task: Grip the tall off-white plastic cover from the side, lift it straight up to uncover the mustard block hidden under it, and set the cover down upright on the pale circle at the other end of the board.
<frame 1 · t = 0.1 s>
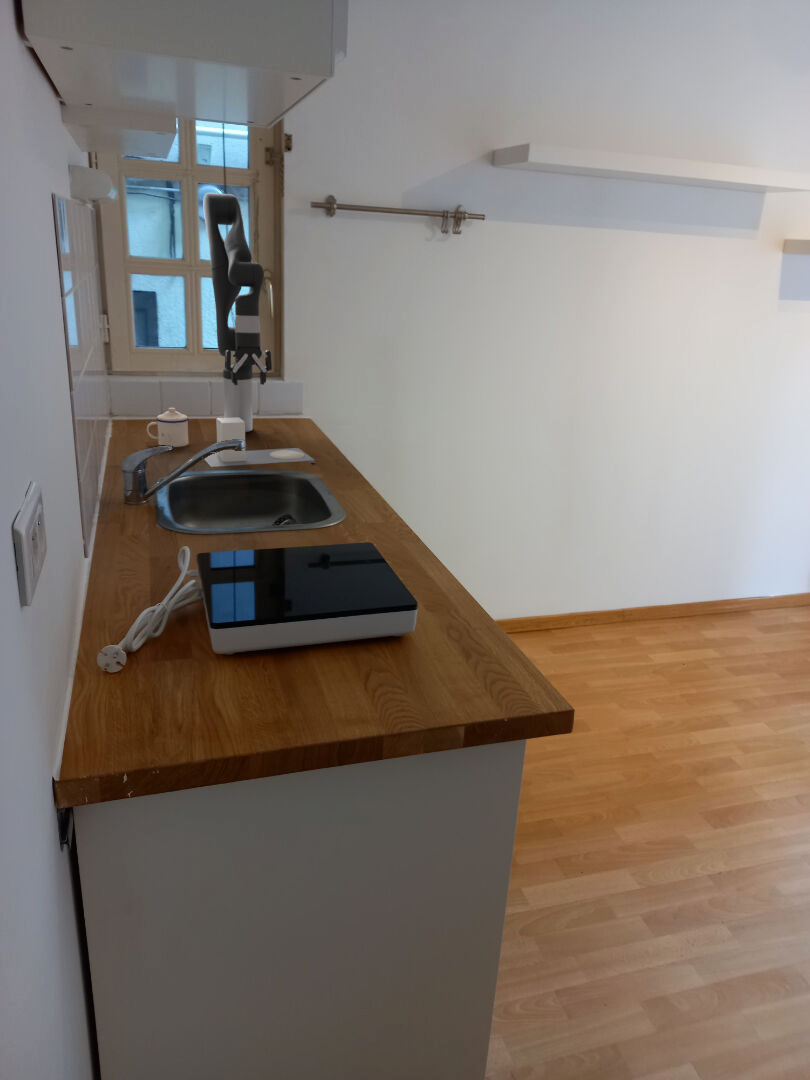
hand: (248, 384, 243), 17 cm above the countertop, tool pointing down, fingers open, 8 cm apart
block: (231, 458, 221), point 1 cm above the countertop, touching board
teacup with lid: (168, 447, 234), on the countertop
board: (257, 460, 225), on the countertop
cover: (231, 458, 221), point 1 cm above the countertop, touching board
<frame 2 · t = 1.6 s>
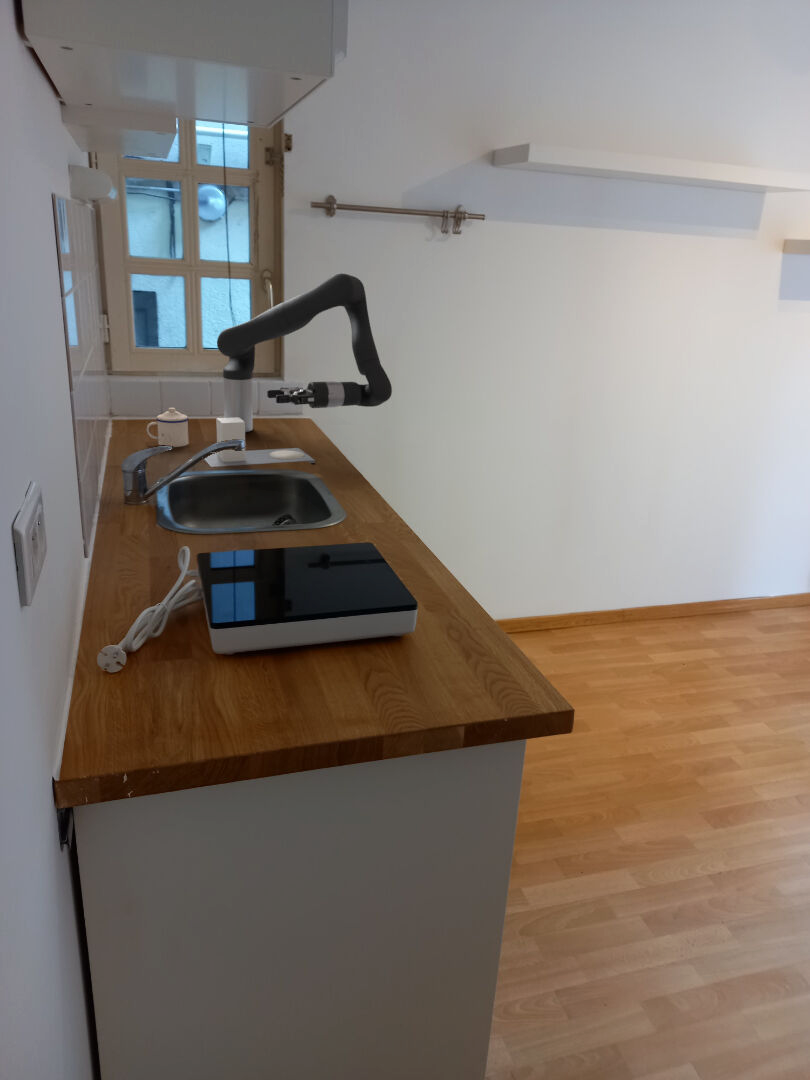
hand: (271, 396, 220), 18 cm above the countertop, tool horizontal, fingers open, 8 cm apart
nothing on the countertop moved.
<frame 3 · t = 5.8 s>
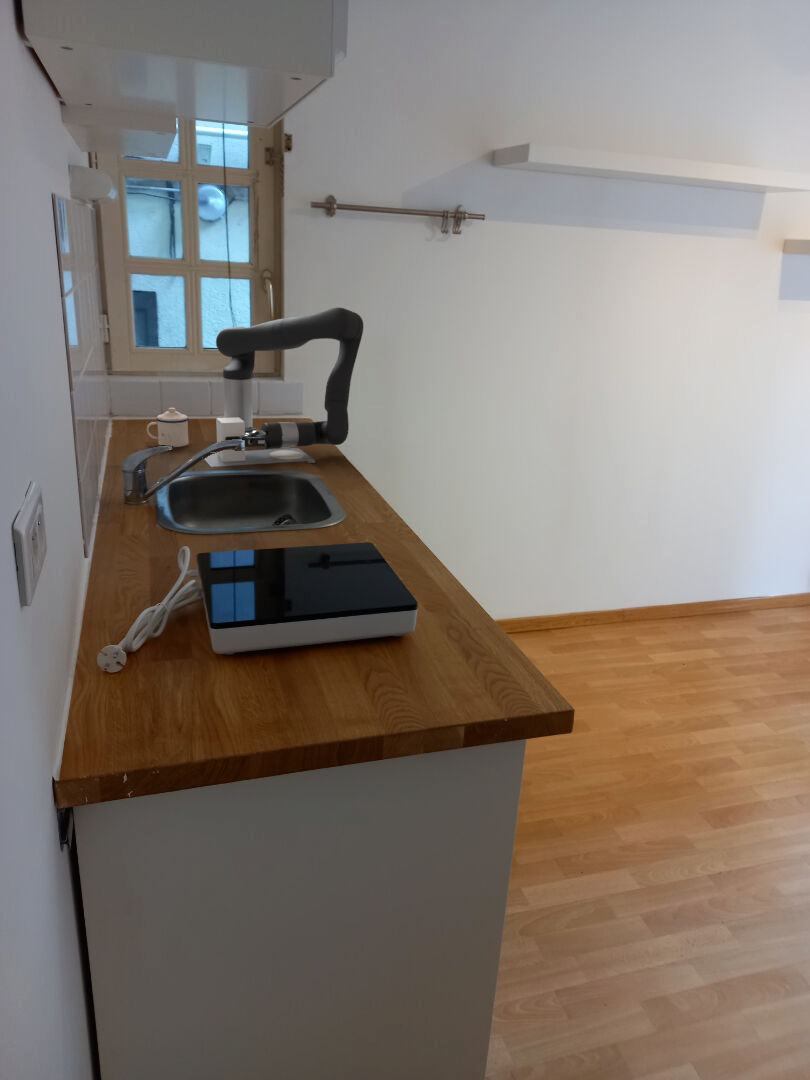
hand: (222, 438, 218), 7 cm above the countertop, tool horizontal, fingers closed on cover, 6 cm apart
cover: (231, 458, 221), point 1 cm above the countertop, touching board, gripper
everything else where it was.
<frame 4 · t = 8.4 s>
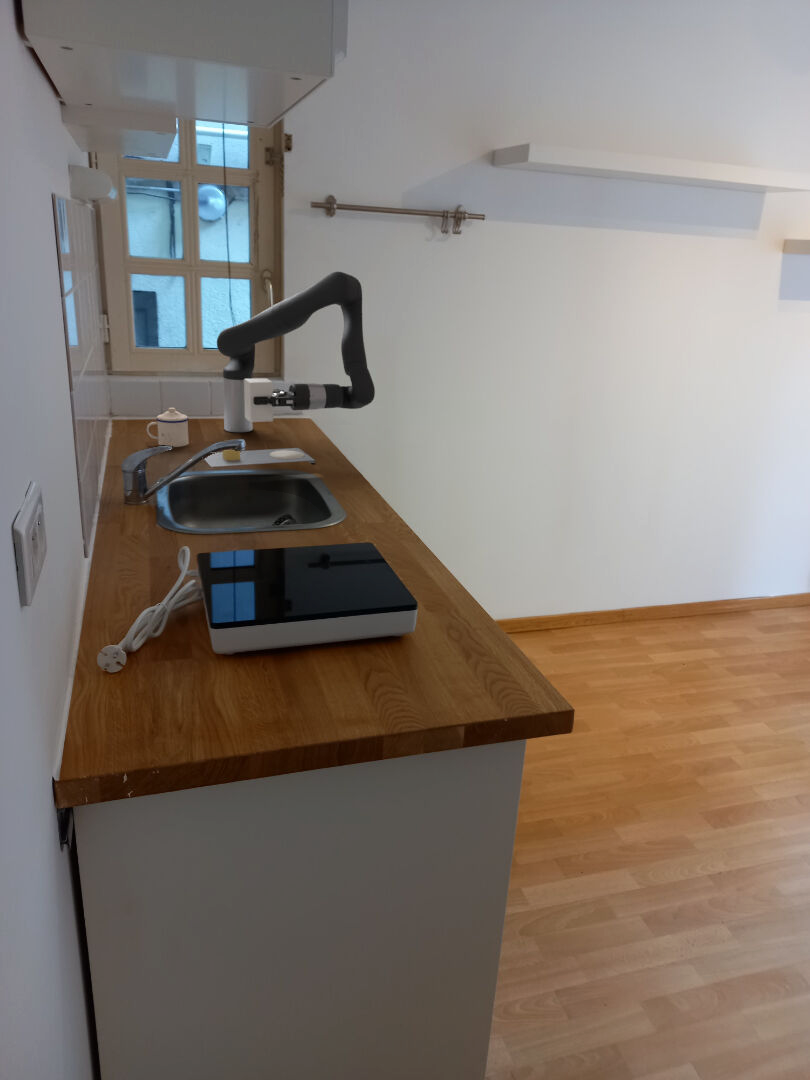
hand: (250, 398, 218), 18 cm above the countertop, tool horizontal, fingers closed on cover, 6 cm apart
cover: (258, 419, 221), point 12 cm above the countertop, touching gripper
everything else where it was.
when the fingers open (8 cm above the countertop, at t = 11.3 s): cover drops 1 cm, resting on board.
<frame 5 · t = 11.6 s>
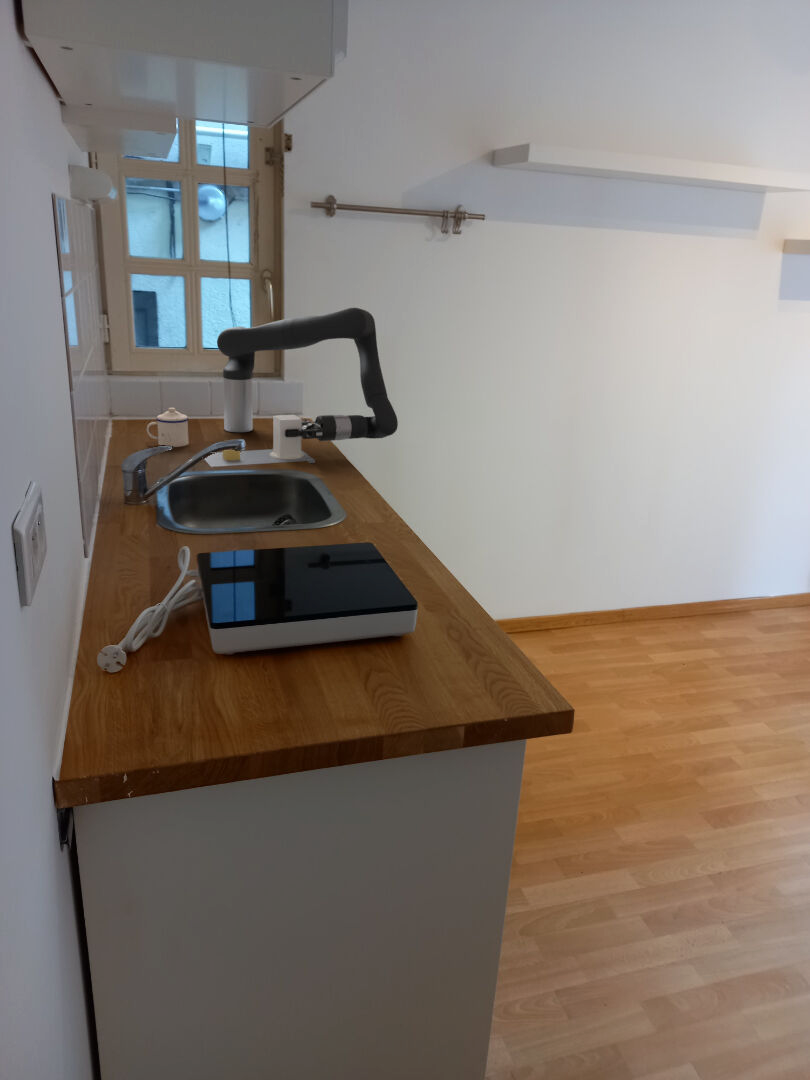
hand: (280, 430, 225), 8 cm above the countertop, tool horizontal, fingers open, 8 cm apart
cover: (287, 454, 229), point 1 cm above the countertop, touching board
everything else where it was.
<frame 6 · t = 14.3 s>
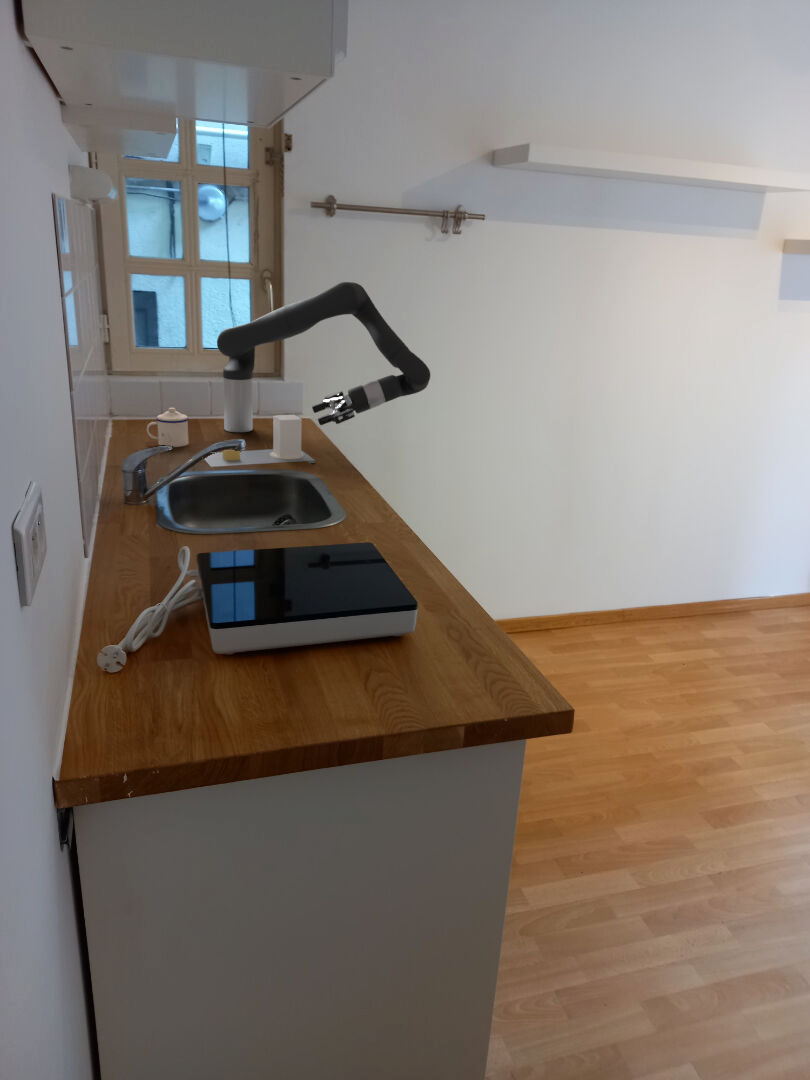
hand: (315, 415, 230), 12 cm above the countertop, tool tilted 70°, fingers open, 8 cm apart
nothing on the countertop moved.
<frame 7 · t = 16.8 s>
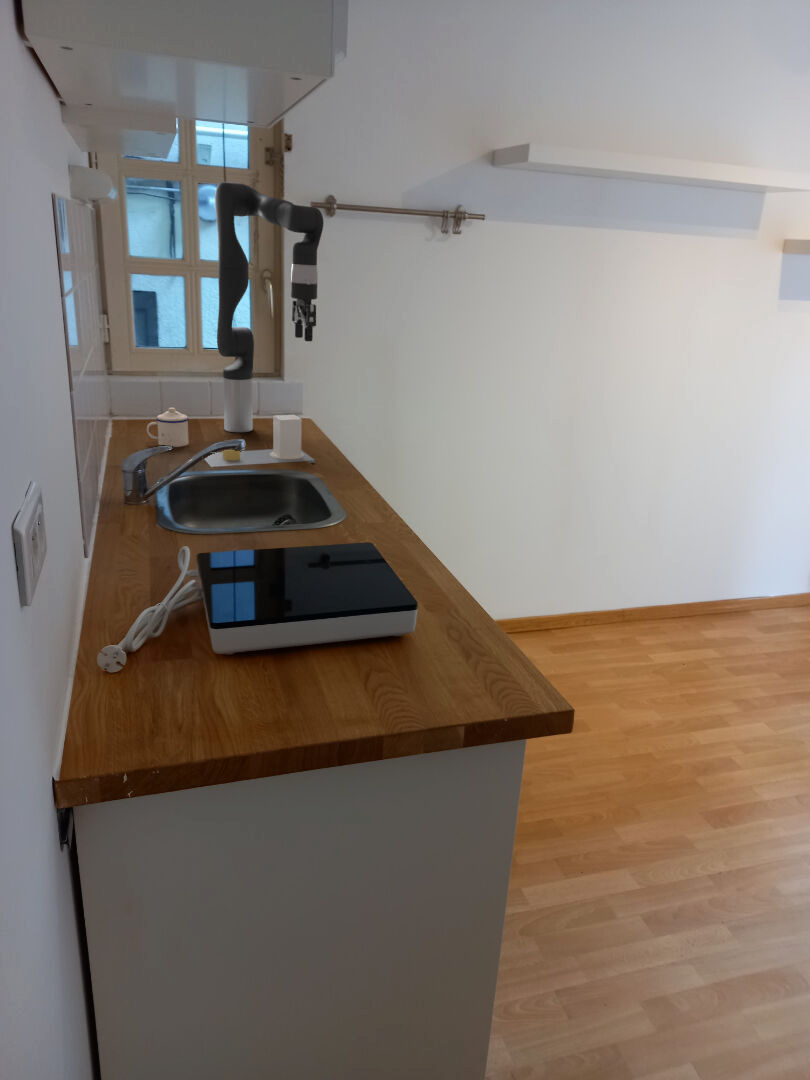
hand: (303, 339, 229), 33 cm above the countertop, tool pointing down, fingers open, 8 cm apart
nothing on the countertop moved.
at the end: cover inside the target area on the board (0.1 cm from its centre), point 1.1 cm above the board's base; cover tilted 0°; the gripper is holding nothing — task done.
